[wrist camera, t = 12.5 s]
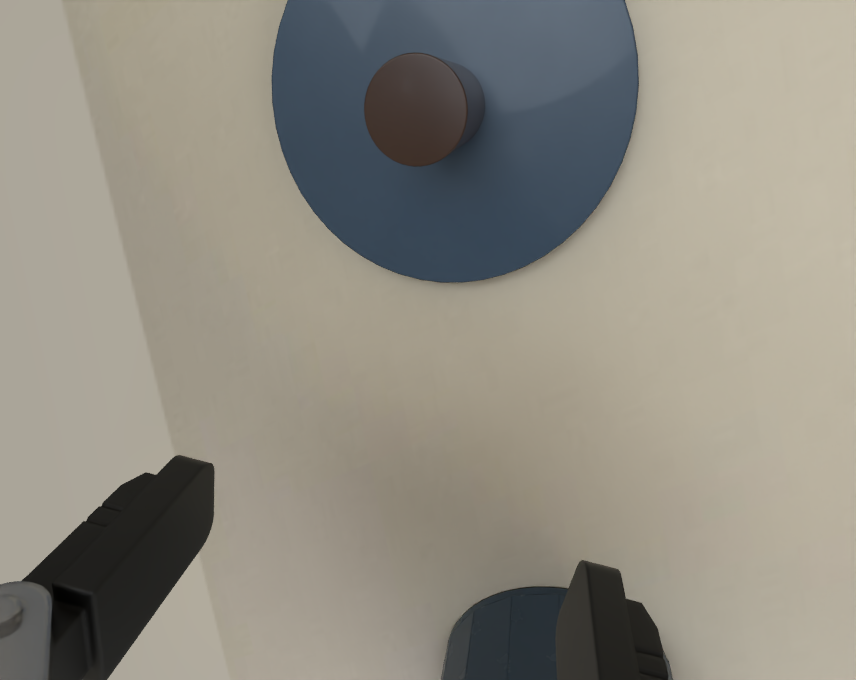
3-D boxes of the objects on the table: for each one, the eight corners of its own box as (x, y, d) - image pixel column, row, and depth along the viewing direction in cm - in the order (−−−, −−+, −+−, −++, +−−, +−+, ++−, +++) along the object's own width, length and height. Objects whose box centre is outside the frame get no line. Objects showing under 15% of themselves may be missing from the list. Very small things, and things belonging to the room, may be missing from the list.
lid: (278, 242, 26) (197, 289, 20) (291, -133, 20) (181, -231, 14) (579, 302, 24) (592, 372, 18) (687, -84, 18) (757, -168, 12)
